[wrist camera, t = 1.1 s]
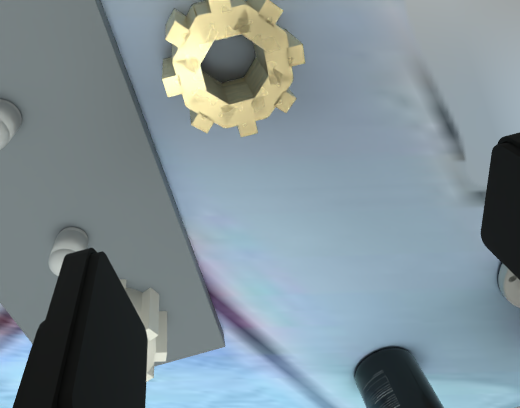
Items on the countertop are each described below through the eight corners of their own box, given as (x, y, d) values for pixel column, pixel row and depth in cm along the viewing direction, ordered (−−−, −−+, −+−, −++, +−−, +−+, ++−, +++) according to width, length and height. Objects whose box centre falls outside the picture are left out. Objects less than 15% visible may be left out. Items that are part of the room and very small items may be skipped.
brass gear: (276, -32, 24) (293, -26, 20) (295, 96, 28) (312, 119, 25) (144, -1, 23) (140, 11, 20) (183, 124, 28) (185, 151, 24)
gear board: (86, -37, 22) (62, -27, 17) (223, 333, 39) (231, 393, 34) (-189, 27, 21) (-299, 57, 16) (72, 375, 38) (57, 442, 33)
